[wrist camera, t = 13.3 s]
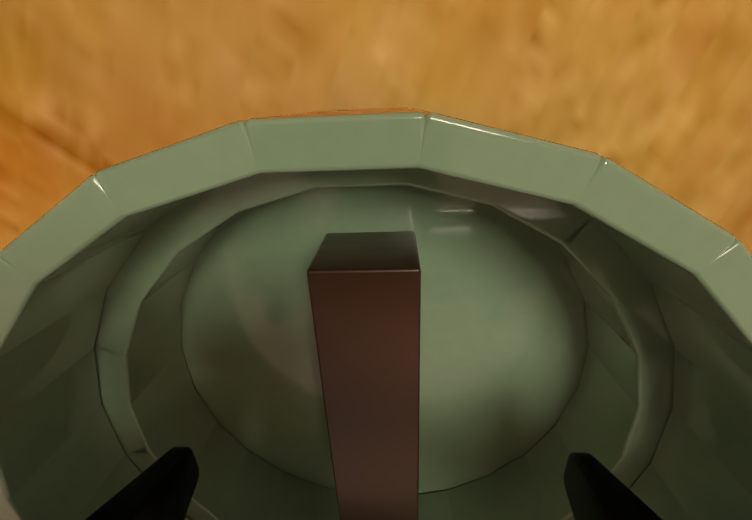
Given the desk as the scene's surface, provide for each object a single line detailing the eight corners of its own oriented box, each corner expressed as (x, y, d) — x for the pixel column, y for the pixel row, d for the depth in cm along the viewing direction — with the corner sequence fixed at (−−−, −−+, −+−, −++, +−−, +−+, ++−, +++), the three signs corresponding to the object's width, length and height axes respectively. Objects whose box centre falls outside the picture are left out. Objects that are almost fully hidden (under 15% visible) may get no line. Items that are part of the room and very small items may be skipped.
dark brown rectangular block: (414, 461, 13) (418, 534, 11) (349, 460, 13) (340, 531, 11) (415, 230, 9) (421, 268, 7) (326, 232, 10) (305, 270, 7)
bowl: (52, 206, 10) (-276, 303, 5) (607, 13, 8) (993, -151, 3) (267, 521, 16) (209, 714, 11) (628, 468, 13) (767, 685, 8)
